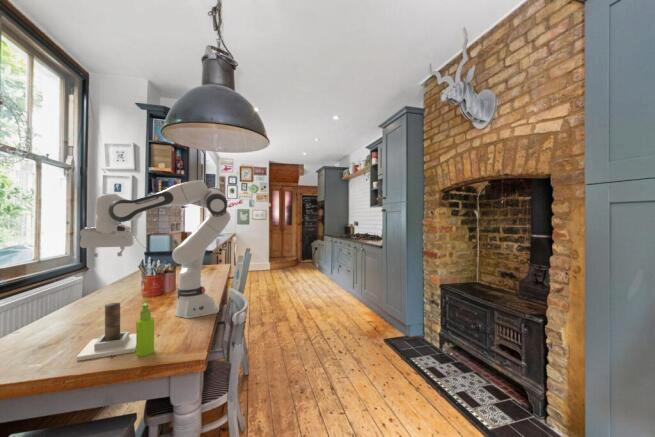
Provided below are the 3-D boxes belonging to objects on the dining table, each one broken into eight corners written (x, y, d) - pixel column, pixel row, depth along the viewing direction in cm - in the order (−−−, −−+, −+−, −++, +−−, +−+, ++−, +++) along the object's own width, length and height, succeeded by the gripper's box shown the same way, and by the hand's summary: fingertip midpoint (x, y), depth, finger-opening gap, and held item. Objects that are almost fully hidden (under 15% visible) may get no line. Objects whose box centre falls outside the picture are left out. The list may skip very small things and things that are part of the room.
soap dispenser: (134, 359, 106) (135, 306, 106) (137, 351, 112) (137, 301, 112) (153, 355, 109) (153, 304, 109) (154, 348, 115) (154, 299, 115)
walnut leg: (118, 339, 119) (118, 301, 119) (121, 343, 116) (121, 304, 115) (103, 343, 115) (103, 304, 115) (106, 347, 112) (106, 307, 112)
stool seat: (142, 335, 126) (142, 327, 126) (134, 351, 112) (134, 341, 112) (92, 342, 119) (92, 333, 119) (76, 360, 104) (76, 350, 104)
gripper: (77, 228, 127) (77, 258, 128) (131, 227, 136) (131, 256, 136) (82, 227, 133) (82, 256, 133) (134, 227, 141) (134, 254, 142)
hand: (107, 256), depth 135 cm, fingers open, 8 cm apart
